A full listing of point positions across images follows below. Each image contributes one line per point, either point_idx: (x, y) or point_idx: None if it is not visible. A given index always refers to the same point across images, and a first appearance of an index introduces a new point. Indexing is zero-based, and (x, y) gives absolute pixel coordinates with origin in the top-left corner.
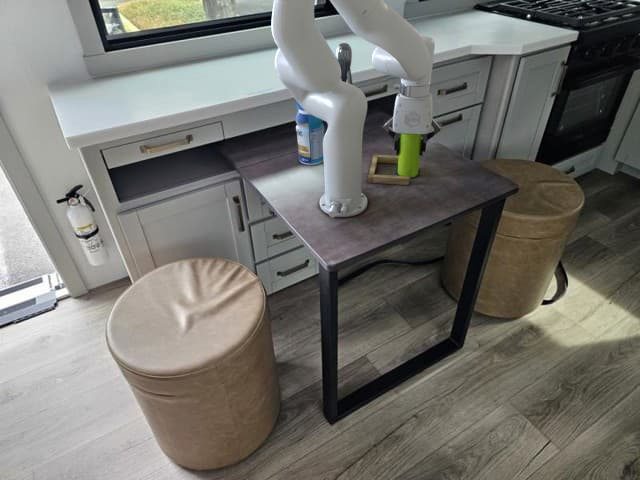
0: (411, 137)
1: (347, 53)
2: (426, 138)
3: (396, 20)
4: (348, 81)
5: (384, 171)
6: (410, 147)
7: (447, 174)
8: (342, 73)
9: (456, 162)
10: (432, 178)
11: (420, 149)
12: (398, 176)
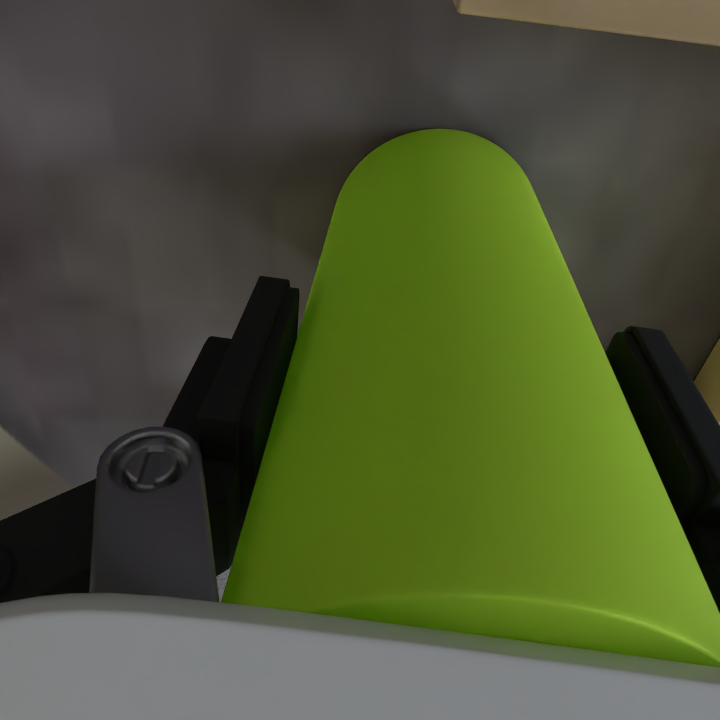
0: (506, 525)
1: None
2: (112, 503)
3: None
4: None
5: (663, 265)
6: (479, 335)
7: (52, 200)
8: None
9: (24, 387)
10: (184, 117)
11: (280, 340)
12: (610, 11)
